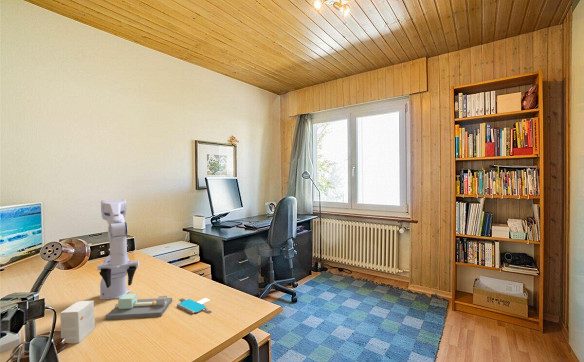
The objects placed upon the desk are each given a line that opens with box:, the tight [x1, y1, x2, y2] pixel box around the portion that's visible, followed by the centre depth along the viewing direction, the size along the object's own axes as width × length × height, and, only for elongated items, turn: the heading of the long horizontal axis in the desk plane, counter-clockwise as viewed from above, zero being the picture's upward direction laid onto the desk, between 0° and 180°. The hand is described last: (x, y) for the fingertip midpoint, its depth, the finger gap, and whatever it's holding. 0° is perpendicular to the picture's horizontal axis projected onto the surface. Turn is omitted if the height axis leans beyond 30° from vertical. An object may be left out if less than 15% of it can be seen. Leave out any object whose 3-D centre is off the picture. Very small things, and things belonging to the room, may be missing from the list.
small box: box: [59, 300, 96, 344], centre depth 89 cm, size 8×6×10 cm
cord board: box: [105, 297, 173, 320], centre depth 106 cm, size 20×12×2 cm, turn 96°
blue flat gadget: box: [176, 297, 212, 315], centre depth 110 cm, size 20×12×2 cm, turn 56°
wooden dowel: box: [114, 301, 166, 308], centre depth 106 cm, size 19×2×2 cm, turn 96°
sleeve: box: [117, 293, 138, 309], centre depth 106 cm, size 5×4×4 cm
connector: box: [155, 295, 168, 307], centre depth 107 cm, size 3×3×3 cm
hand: (119, 285), depth 107 cm, fingers open, 7 cm apart
